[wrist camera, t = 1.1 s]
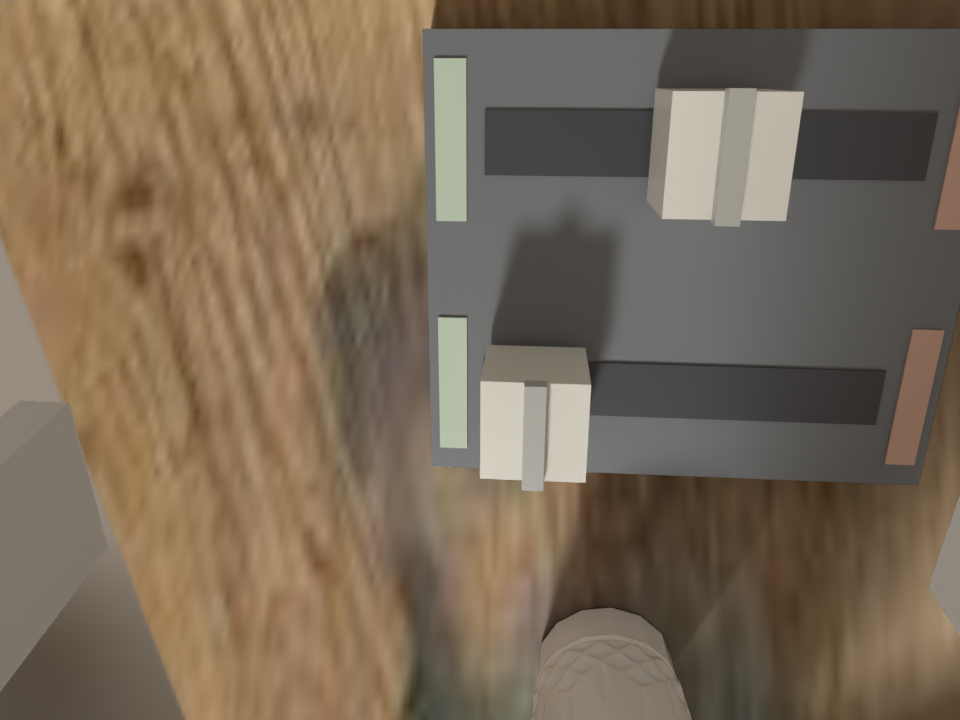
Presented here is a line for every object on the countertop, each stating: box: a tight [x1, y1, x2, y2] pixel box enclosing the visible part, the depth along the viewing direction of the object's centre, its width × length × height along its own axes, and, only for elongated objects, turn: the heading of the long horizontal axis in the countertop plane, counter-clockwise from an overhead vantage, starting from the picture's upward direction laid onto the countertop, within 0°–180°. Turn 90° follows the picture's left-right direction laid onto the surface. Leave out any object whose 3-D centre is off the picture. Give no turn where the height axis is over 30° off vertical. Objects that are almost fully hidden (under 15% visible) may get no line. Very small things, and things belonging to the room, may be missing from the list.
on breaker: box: [480, 345, 591, 491], centre depth 30 cm, size 4×4×5 cm
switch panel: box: [423, 29, 960, 485], centre depth 32 cm, size 18×21×2 cm
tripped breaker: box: [647, 88, 804, 227], centre depth 26 cm, size 4×4×5 cm
